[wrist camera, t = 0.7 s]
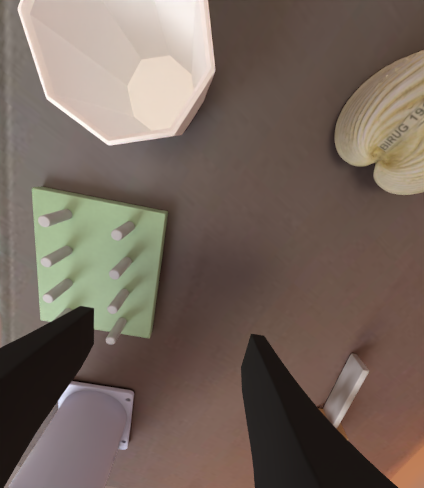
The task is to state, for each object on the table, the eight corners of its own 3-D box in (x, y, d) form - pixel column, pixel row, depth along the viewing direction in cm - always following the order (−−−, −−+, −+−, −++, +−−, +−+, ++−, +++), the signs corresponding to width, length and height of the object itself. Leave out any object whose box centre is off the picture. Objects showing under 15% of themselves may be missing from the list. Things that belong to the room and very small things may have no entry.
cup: (110, 141, 16) (17, 120, 9) (129, -39, 13) (9, -322, 6) (203, 167, 17) (193, 168, 9) (243, -1, 14) (278, -212, 6)
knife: (319, 439, 27) (330, 469, 24) (301, 436, 26) (310, 466, 24) (364, 355, 22) (384, 380, 20) (343, 351, 22) (360, 376, 20)
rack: (152, 331, 22) (140, 360, 19) (48, 313, 21) (17, 340, 18) (168, 211, 18) (157, 221, 15) (41, 186, 17) (0, 190, 14)
